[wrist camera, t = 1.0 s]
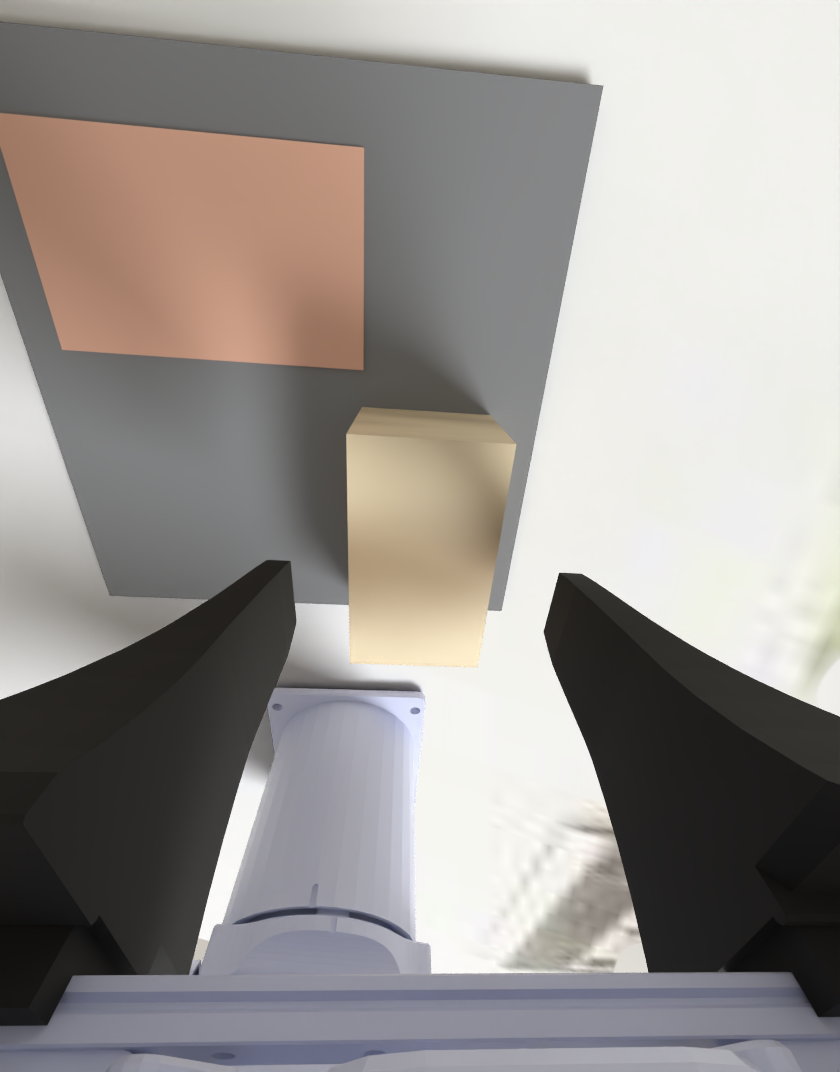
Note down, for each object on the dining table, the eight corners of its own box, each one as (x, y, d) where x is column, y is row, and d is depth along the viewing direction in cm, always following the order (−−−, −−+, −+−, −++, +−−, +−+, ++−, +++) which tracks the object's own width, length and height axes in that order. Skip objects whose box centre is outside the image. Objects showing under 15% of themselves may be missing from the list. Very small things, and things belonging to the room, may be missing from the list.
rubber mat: (499, 604, 19) (501, 612, 18) (117, 588, 18) (108, 596, 17) (595, 95, 11) (604, 83, 11) (-68, 25, 10) (-93, 9, 10)
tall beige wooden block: (464, 600, 18) (477, 667, 14) (361, 596, 18) (350, 663, 14) (489, 415, 14) (516, 444, 11) (362, 406, 14) (345, 433, 11)
